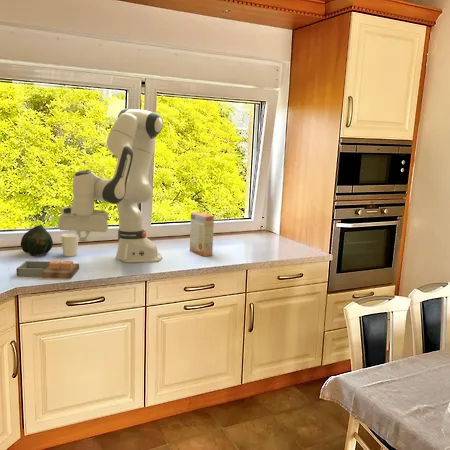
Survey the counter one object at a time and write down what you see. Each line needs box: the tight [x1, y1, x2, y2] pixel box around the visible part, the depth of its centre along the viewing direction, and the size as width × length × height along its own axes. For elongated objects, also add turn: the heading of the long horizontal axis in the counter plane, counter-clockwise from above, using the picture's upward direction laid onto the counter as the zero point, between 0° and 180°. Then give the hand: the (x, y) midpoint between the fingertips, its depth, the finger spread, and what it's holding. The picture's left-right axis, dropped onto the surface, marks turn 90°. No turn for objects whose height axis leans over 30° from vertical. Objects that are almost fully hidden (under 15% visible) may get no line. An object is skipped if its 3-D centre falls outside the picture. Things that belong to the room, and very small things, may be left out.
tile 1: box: [49, 260, 62, 269], centre depth 208 cm, size 4×4×2 cm
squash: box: [20, 224, 54, 257], centre depth 237 cm, size 14×15×15 cm
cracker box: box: [189, 211, 215, 257], centre depth 250 cm, size 14×6×21 cm, turn 34°
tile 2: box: [61, 260, 74, 269], centre depth 208 cm, size 4×4×2 cm
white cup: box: [61, 232, 79, 257], centre depth 238 cm, size 8×8×10 cm
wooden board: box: [41, 262, 80, 279], centre depth 209 cm, size 12×14×2 cm
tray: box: [16, 260, 51, 278], centre depth 208 cm, size 11×12×4 cm
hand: (83, 241), depth 206 cm, fingers closed
